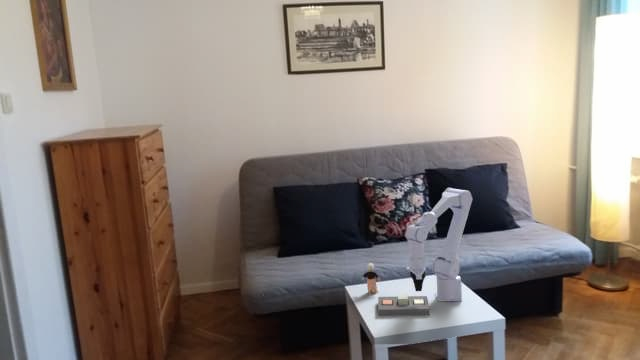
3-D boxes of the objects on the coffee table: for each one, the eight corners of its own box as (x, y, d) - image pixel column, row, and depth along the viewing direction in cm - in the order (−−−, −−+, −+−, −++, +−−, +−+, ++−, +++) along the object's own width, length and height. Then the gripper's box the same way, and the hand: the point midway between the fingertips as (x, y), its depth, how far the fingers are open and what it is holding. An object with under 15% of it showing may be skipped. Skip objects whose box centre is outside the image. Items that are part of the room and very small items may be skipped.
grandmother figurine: (380, 290, 215) (379, 261, 213) (380, 293, 211) (379, 264, 209) (362, 290, 216) (360, 262, 214) (362, 294, 212) (360, 265, 210)
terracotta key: (392, 306, 198) (391, 299, 197) (392, 310, 194) (392, 303, 194) (383, 306, 198) (382, 300, 198) (383, 310, 195) (382, 303, 194)
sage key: (407, 301, 197) (407, 295, 196) (408, 305, 193) (407, 298, 193) (398, 302, 197) (397, 295, 197) (398, 305, 194) (398, 299, 193)
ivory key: (423, 306, 196) (423, 299, 196) (424, 310, 193) (424, 303, 192) (414, 306, 197) (413, 299, 196) (414, 310, 193) (414, 303, 193)
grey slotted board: (427, 301, 200) (426, 295, 200) (429, 315, 188) (429, 308, 188) (378, 302, 203) (378, 296, 202) (378, 315, 191) (378, 309, 190)
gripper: (405, 250, 199) (406, 283, 201) (407, 263, 185) (408, 298, 187) (423, 250, 198) (425, 283, 200) (426, 262, 184) (428, 298, 186)
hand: (418, 290), depth 193 cm, fingers closed
